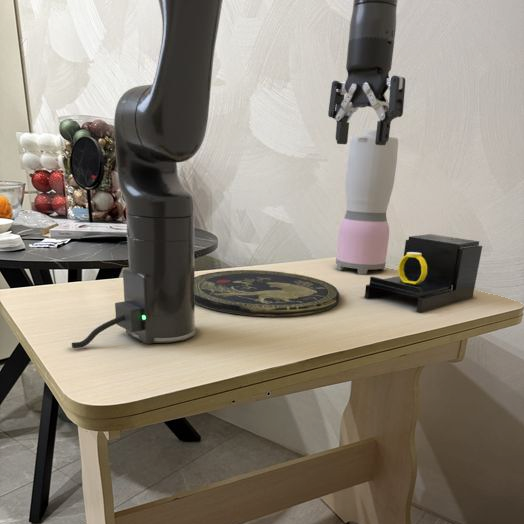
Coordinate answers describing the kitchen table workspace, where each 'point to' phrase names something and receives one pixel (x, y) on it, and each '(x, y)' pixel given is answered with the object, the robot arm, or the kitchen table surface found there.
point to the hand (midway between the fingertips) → (360, 144)
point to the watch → (423, 265)
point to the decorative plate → (264, 293)
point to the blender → (367, 203)
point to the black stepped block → (434, 272)
